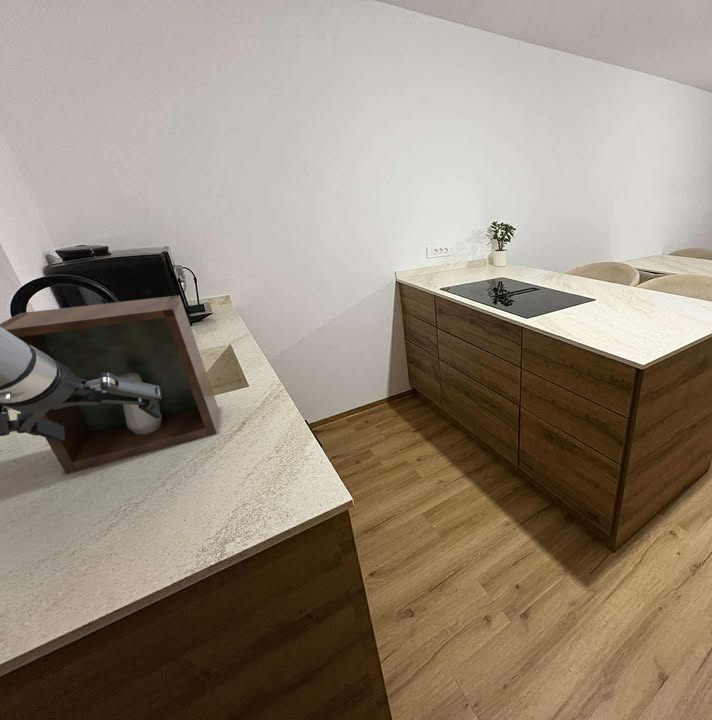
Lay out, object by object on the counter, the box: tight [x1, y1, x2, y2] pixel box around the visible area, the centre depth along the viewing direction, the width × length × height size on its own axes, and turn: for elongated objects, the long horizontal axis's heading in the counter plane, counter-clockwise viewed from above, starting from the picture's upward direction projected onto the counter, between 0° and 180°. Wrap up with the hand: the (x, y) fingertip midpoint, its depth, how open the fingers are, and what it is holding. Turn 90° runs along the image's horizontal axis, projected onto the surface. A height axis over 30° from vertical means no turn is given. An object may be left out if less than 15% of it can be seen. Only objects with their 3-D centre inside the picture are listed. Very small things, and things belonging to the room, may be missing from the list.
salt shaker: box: [117, 373, 162, 435], centre depth 78 cm, size 6×6×13 cm
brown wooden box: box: [0, 294, 219, 475], centre depth 76 cm, size 24×13×28 cm, turn 122°
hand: (111, 422), depth 68 cm, fingers open, 13 cm apart
